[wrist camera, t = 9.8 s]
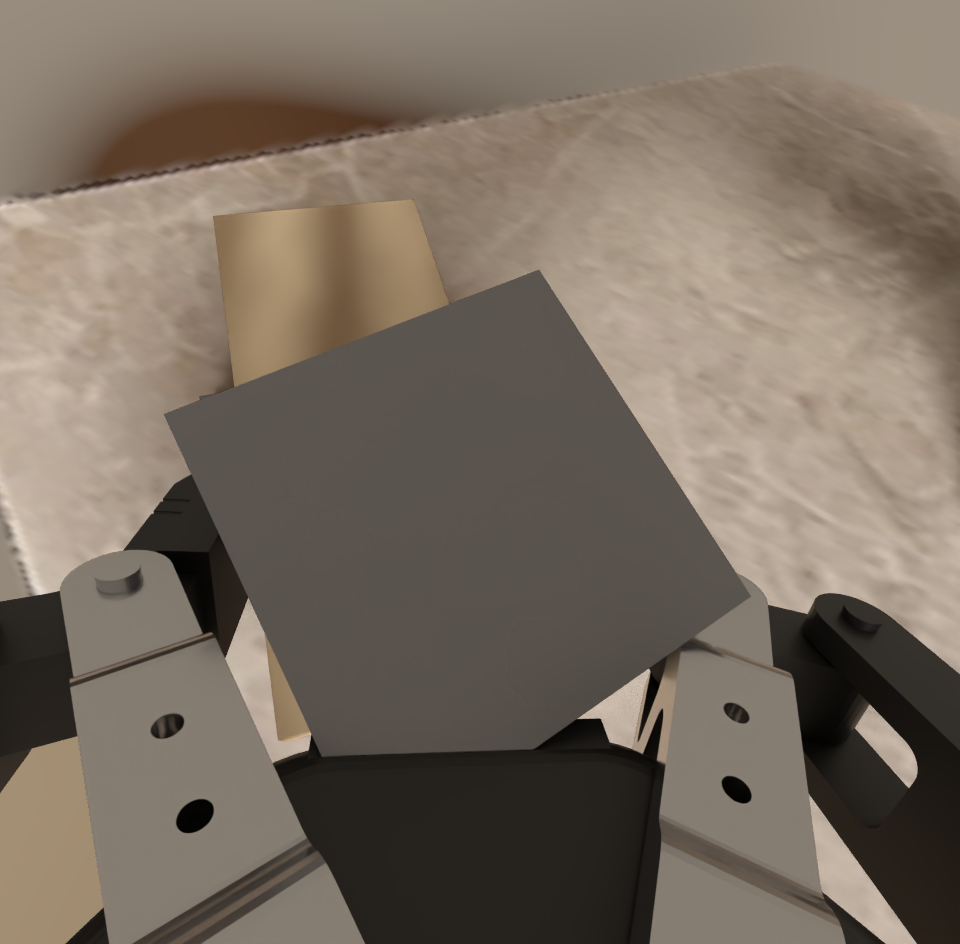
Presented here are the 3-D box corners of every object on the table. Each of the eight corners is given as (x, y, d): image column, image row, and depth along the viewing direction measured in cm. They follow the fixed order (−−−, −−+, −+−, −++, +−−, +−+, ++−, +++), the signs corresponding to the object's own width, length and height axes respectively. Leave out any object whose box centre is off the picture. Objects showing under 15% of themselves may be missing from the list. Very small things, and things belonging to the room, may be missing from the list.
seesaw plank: (412, 230, 31) (413, 195, 29) (555, 660, 21) (570, 651, 19) (225, 249, 28) (211, 212, 27) (290, 741, 19) (276, 740, 17)
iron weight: (448, 480, 17) (539, 269, 7) (531, 626, 16) (751, 597, 7) (294, 556, 15) (164, 413, 6) (375, 723, 14) (371, 863, 5)
